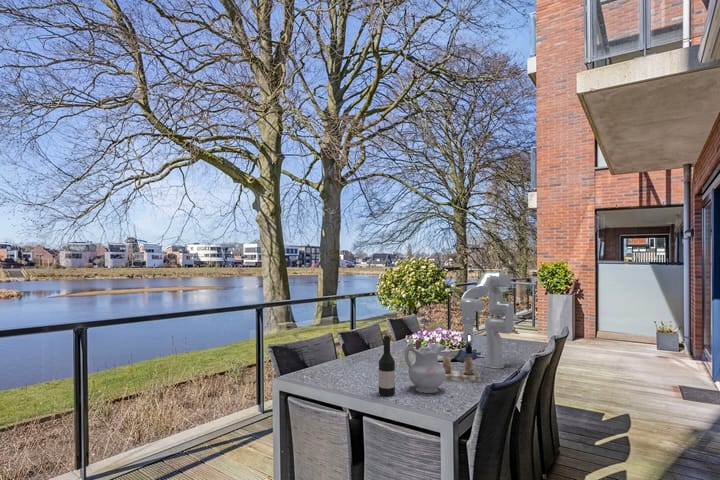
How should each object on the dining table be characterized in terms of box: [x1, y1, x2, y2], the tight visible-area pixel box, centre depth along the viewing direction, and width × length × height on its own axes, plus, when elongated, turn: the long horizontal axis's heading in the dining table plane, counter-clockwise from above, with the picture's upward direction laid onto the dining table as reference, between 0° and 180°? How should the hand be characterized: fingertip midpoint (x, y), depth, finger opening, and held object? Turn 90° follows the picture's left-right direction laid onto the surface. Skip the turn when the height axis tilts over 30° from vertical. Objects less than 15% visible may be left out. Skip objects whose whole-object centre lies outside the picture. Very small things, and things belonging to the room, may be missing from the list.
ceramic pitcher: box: [404, 342, 445, 394], centre depth 227 cm, size 22×20×25 cm
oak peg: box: [464, 356, 474, 375], centre depth 248 cm, size 5×5×12 cm
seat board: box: [442, 356, 482, 383], centre depth 249 cm, size 24×12×12 cm, turn 80°
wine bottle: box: [378, 334, 396, 398], centre depth 220 cm, size 8×8×30 cm
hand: (468, 352), depth 249 cm, fingers open, 5 cm apart
